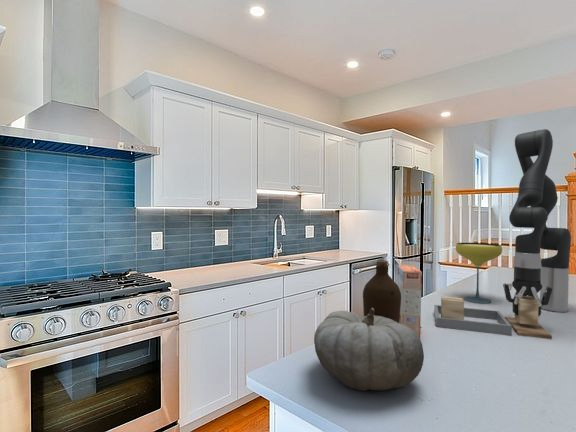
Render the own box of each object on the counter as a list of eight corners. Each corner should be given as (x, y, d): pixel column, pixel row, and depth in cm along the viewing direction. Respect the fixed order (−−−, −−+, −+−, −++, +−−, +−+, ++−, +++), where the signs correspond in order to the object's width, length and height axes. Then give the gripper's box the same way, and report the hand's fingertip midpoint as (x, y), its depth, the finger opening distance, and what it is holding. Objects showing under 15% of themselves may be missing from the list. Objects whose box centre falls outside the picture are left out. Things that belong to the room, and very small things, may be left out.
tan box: (520, 323, 115) (520, 299, 115) (514, 317, 122) (515, 294, 121) (538, 325, 113) (539, 301, 113) (532, 319, 120) (532, 296, 120)
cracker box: (421, 339, 106) (422, 271, 106) (401, 337, 107) (402, 270, 107) (414, 324, 120) (415, 264, 120) (396, 323, 121) (397, 263, 121)
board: (504, 318, 127) (504, 316, 127) (533, 321, 124) (533, 319, 124) (517, 335, 111) (518, 332, 111) (551, 339, 107) (551, 335, 107)
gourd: (345, 408, 64) (346, 311, 67) (293, 372, 86) (296, 301, 90) (448, 397, 73) (445, 312, 76) (376, 367, 95) (376, 303, 99)
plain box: (440, 318, 128) (441, 296, 128) (461, 320, 126) (462, 298, 126) (441, 322, 123) (442, 299, 123) (463, 324, 121) (463, 301, 121)
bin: (434, 312, 135) (434, 304, 135) (499, 319, 127) (499, 311, 127) (436, 326, 118) (436, 317, 118) (511, 335, 110) (511, 326, 110)
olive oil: (406, 347, 100) (407, 260, 99) (390, 358, 92) (392, 264, 91) (372, 338, 107) (373, 257, 106) (355, 348, 99) (356, 260, 98)
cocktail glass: (449, 300, 153) (450, 244, 153) (460, 293, 167) (461, 241, 167) (496, 308, 142) (497, 247, 141) (504, 300, 155) (505, 244, 155)
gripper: (548, 265, 118) (547, 315, 118) (500, 263, 123) (499, 310, 123) (557, 269, 111) (555, 321, 111) (505, 266, 116) (504, 316, 116)
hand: (526, 315), depth 117 cm, fingers closed on tan box, 5 cm apart
